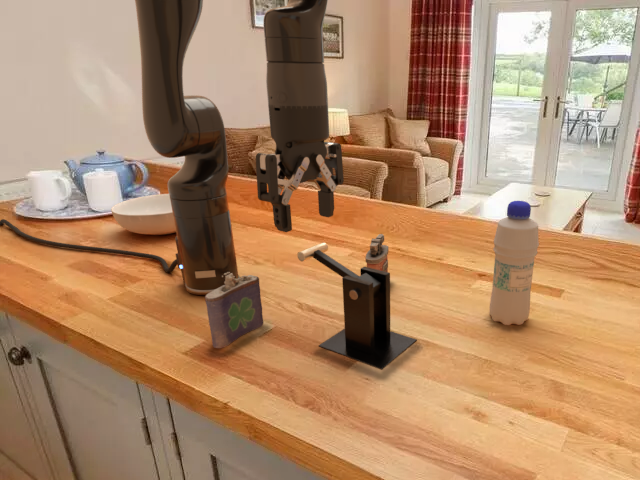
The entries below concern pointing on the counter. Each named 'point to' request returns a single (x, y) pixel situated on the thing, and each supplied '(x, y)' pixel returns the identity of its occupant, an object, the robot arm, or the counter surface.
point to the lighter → (378, 254)
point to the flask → (234, 309)
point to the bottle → (514, 264)
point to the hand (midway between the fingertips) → (306, 223)
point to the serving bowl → (146, 215)
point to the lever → (335, 264)
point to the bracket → (368, 323)
